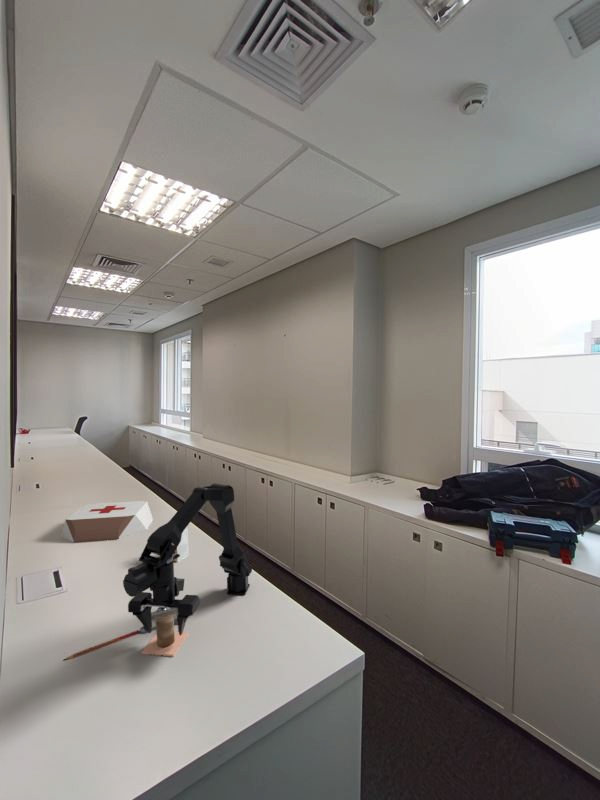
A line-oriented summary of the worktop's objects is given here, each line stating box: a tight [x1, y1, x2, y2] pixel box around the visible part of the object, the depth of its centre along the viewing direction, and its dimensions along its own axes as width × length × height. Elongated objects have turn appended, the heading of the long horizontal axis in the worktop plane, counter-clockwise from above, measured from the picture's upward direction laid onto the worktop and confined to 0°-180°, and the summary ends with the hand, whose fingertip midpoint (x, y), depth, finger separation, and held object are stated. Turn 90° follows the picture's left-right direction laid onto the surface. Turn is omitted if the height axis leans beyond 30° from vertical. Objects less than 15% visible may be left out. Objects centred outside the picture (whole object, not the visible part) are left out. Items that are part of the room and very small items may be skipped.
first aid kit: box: [61, 500, 154, 544], centre depth 194 cm, size 34×41×10 cm
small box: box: [173, 526, 190, 563], centre depth 158 cm, size 8×6×13 cm
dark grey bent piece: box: [139, 607, 179, 634], centre depth 116 cm, size 11×13×4 cm
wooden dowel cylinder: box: [155, 615, 175, 648], centre depth 105 cm, size 5×5×6 cm
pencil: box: [63, 629, 140, 661], centre depth 105 cm, size 19×1×1 cm, turn 126°
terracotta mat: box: [141, 631, 189, 657], centre depth 105 cm, size 9×9×1 cm
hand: (165, 633), depth 105 cm, fingers open, 9 cm apart
